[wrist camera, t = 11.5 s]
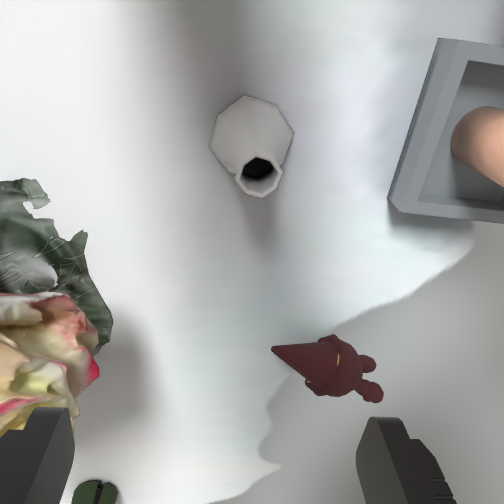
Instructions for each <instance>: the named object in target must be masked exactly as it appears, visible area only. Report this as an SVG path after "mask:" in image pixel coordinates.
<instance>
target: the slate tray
mask: <svg viewBox="0 0 504 504" xmlns="http://www.w3.org/2000/svg"><path fill="white" fill-rule="evenodd" d="M482 106H494V107H497V108H501V109H504V47H501V46H495V45H488V44H482V43H476V42H470V41H464V40H456V39H445V38H438V41H437V44H436V47H435V50H434V53H433V56H432V59H431V62H430V65H429V69H428V72H427V75H426V78H425V81H424V84H423V87H422V90H421V93H420V97H419V100H418V103H417V106H416V109H415V112H414V115H413V118H412V121H411V125H410V128H409V131H408V134H407V137H406V140H405V143H404V146H403V149H402V153H401V156H400V159H399V162H398V165H397V168H396V171H395V174H394V177H393V181H392V184H391V187H390V190H389V193H388V196H387V198H388V199H389V200H390V202H391V203H392V204H393V205H394V206H395V207H396V208H397V209H398V211H399V212H402V213H411V214H420V215H429V216H438V217H447V218H456V219H466V220H475V221H484V222H493V223H502V224H504V187H502V186H501V185H499V184H497V183H496V182H494V181H492V180H490V179H489V178H487V177H485V176H484V175H482V174H480V173H478V172H477V171H475V170H473V169H471V168H470V167H468V166H466V165H465V164H463V163H461V162H459V161H458V160H457V159H456V158H455V157H454V155H453V153H452V151H451V144H450V143H451V136H452V133H453V130H454V128H455V127H456V125H457V123H458V122H459V121H460V120H461V119H462V117H464V116H465V115H466V114H467V113H469V112H470V111H472V110H474V109H476V108H479V107H482Z"/></svg>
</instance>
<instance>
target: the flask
mask: <svg viewBox="0 0 504 504" xmlns="http://www.w3.org/2000/svg"><path fill="white" fill-rule="evenodd" d="M293 135H294V132H293V130H292V129H291V127H290V125H289V124H288V122H287V121H286V119H285V118H284V116H283V115H282V113H281V112H280V110H279V108H278V107H277V105H274V104H271V103H268V102H265V101H262V100H259V99H256V98H253V97H250V96H247V95H244V96H242V97H241V98H240V99H238V100H237V101H236V102H234V103H233V104H232V105H230V106H229V107H228V108H226V109H225V110H224V111H223V112H221V113H220V114H219V115H218V116H217V119H216V123H215V127H214V130H213V134H212V138H211V142H210V145H209V148H210V149H211V150H212V151H213V153H214V154H215V155H216V157H217V158H218V159H219V160H220V162H221V163H222V164H223V166H224V167H225V168H226V170H227V171H228V172H230V173H233V174H236V175H235V178H234V180H235V182H236V183H237V184H238V186H239V187H240V188H241V189H242V191H243V192H244V193H245V194H246V195H250V196H253V197H257V198H260V199H263V198H265V197H266V196H268V195H269V194H271V193H272V192H274V191H275V190H276V189H277V188H278V186H279V183H280V180H281V177H282V175H283V170H282V169H281V167H280V165H281V164H282V163H283V162H284V159H285V156H286V154H287V151H288V148H289V145H290V143H291V140H292V137H293Z"/></svg>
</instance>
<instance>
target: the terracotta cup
mask: <svg viewBox="0 0 504 504" xmlns="http://www.w3.org/2000/svg"><path fill="white" fill-rule="evenodd" d="M450 144H451V151H452V153H453V155H454V157H455V158H456V159H457V160H458V161H459V162H461V163H463V164H465V165H466V166H468V167H470V168H471V169H473V170H475V171H477V172H478V173H480V174H482V175H484V176H485V177H487V178H489V179H490V180H492V181H494V182H496V183H497V184H499V185H501V186H502V187H504V109H501V108H497V107H494V106H482V107H479V108H476V109H474V110H472V111H470V112H469V113H467V114H466V115H465V116H464V117H462V119H461V120H460V121H459V122H458V123H457V125H456V127H455V128H454V130H453V133H452V136H451V143H450Z"/></svg>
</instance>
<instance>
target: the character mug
mask: <svg viewBox="0 0 504 504" xmlns="http://www.w3.org/2000/svg"><path fill="white" fill-rule="evenodd" d="M97 486H98V481H88V482H85V483H82V484H80V485H79V486H78V487H77V488H76V489H75V491H74V494H73V498H72V503H71V504H115V502H116V499H117V491H116V490H115V488H114V487H113V486H111V485H109V484H108V483H104V487H103V490H102V489H100V488H97Z"/></svg>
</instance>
